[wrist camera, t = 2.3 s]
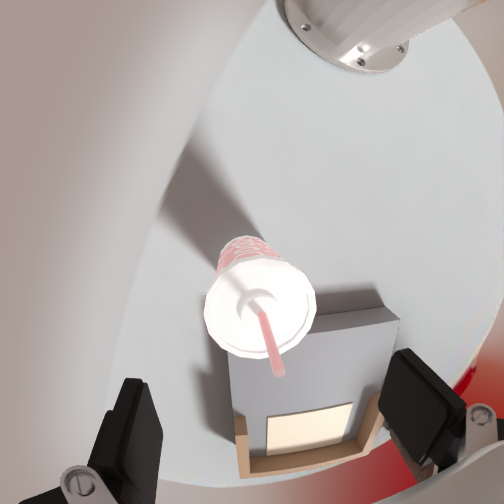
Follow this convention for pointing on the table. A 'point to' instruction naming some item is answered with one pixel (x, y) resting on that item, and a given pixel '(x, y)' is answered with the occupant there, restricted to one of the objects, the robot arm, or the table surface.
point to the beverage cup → (258, 302)
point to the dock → (314, 395)
